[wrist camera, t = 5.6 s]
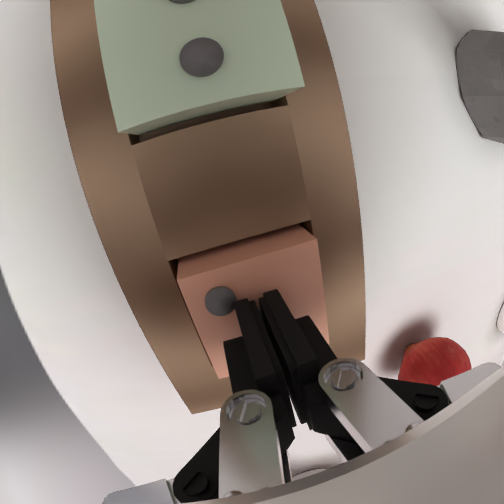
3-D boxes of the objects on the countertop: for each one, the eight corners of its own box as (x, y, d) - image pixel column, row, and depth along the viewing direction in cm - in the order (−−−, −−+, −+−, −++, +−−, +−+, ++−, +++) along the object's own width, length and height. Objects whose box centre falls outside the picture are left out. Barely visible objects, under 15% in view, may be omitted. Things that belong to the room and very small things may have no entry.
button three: (179, 247, 13) (176, 282, 9) (289, 216, 13) (319, 240, 10) (212, 335, 14) (219, 382, 11) (305, 306, 15) (331, 346, 12)
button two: (116, 21, 7) (90, -17, 4) (243, -8, 8) (263, -53, 5) (140, 135, 9) (115, 131, 6) (273, 101, 10) (307, 85, 7)
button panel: (74, -85, 4) (63, -107, 1) (230, -121, 5) (237, -145, 2) (189, 377, 17) (192, 414, 14) (342, 329, 17) (364, 359, 15)
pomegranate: (445, 318, 20) (506, 373, 13) (414, 371, 22) (463, 430, 14) (400, 316, 18) (471, 388, 11) (368, 377, 20) (418, 451, 13)
